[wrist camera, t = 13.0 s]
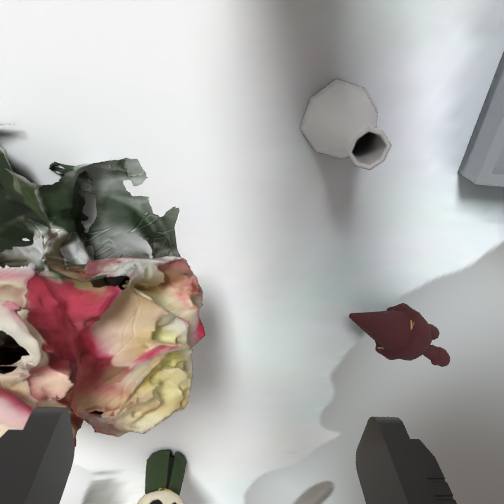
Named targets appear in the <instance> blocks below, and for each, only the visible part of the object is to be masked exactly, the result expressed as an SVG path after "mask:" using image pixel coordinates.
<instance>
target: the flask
mask: <svg viewBox="0 0 504 504" xmlns="http://www.w3.org/2000/svg"><path fill="white" fill-rule="evenodd" d="M377 117H378V112H377V110H376V109H375V107H374V105H373V103H372V101H371V100H370V98H369V96H368V94H367V92H366V91H365V89H364V88H363V87H360V86H357V85H354V84H350V83H347V82H344V81H341V80H338V79H335V80H334V81H332V82H331V83H330V84H328V85H327V86H326V87H325V88H323V89H322V90H321V91H319V92H318V93H317V94H315V95H314V96H313V97H311V98H310V100H309V103H308V106H307V109H306V112H305V114H304V117H303V120H302V123H301V126H300V129H301V131H302V132H303V134H304V135H305V137H306V138H307V140H308V141H309V143H310V144H311V146H312V147H313V149H314V150H315V151H316V152H320V153H323V154H327V155H330V156H334V157H337V158H341V159H342V158H346V157H350V159H351V160H352V162H353V164H354V165H355V166H357V167H361V168H364V169H368V170H371V169H373V168H374V167H375V166H377V165H378V164H380V163H381V162H383V161H384V160H385V158H386V156H387V154H388V151H389V149H390V147H391V143H390V142H389V140H388V138H387V136H386V135H385V133H384V131H382V130H378V129H376V123H377Z"/></svg>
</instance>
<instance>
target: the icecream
mask: <svg viewBox="0 0 504 504" xmlns="http://www.w3.org/2000/svg"><path fill="white" fill-rule="evenodd" d="M349 317H350V318H351V319H352V320H353V321H354V322H355V323H356V324H357V325H358V326H359V327H360V328H362V329H363V330H364V331H365V332H366V333H367V334H368V335H369V336H370V337H372V338H373V339H374V340H375V342H376V351H377V352H378V353H380V354H382V355H383V356H385V357H386V358H387V359H389V360H394V359H403V360H413V359H416V358H418V357H419V356H421V355H422V354H423V355H424V356H425V357H427V358H428V359H430V360H431V363H432V364H433V365H439V366H441V367H443V366H446V365H448V364H449V362H450V356H449V354H448V353H447V351H446V350H445V349H443V348H441V347H436V346H434V345H430V344H431V341H432V340H435V339H436V338H438V336H439V330H438V329H437V328H436V327H435V326H433V325H431V324H428V323H427V322H426V320H425V319H424V318H423V317H422V316H421V314H420V313H419V312H417V311H415V310H413V309H412V308H410V307H409V306H408V305H407V304H404V303H402V304H399V305H397V306H394V307H390V308H388V309H387V311H382V312H367V313H351V314H350V315H349Z"/></svg>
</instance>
